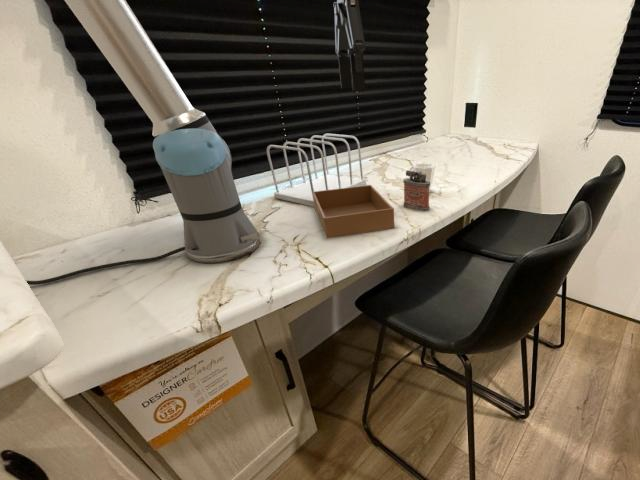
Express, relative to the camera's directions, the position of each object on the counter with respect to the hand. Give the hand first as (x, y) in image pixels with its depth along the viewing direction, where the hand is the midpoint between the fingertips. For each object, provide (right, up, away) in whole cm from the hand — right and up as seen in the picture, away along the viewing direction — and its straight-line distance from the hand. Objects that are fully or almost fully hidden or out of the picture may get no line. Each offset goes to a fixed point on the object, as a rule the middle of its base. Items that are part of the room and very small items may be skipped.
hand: (352, 89), depth 79 cm
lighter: (+16, -25, +14) cm, 33 cm away
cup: (+18, -16, +27) cm, 36 cm away
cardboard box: (-1, -29, +9) cm, 30 cm away
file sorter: (-14, -16, +28) cm, 35 cm away
